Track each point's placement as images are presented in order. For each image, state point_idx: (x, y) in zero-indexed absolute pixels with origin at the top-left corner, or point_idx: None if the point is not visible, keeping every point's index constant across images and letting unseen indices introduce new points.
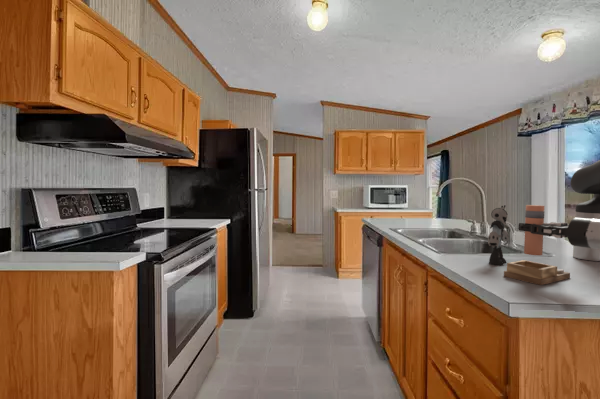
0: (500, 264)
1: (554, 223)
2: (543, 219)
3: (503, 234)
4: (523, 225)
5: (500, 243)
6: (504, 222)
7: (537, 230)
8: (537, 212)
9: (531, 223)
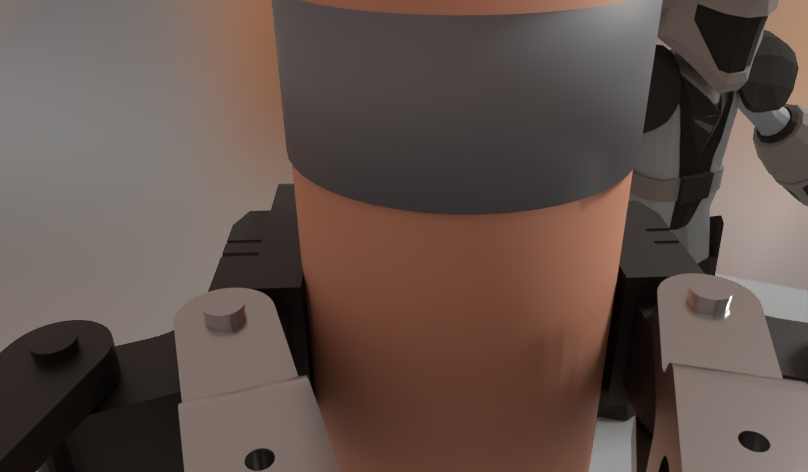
0: (599, 408)
1: (673, 461)
2: (506, 239)
3: (785, 162)
4: (229, 251)
5: (693, 240)
6: (714, 68)
7: (359, 426)
8: (319, 41)
9: (303, 257)
